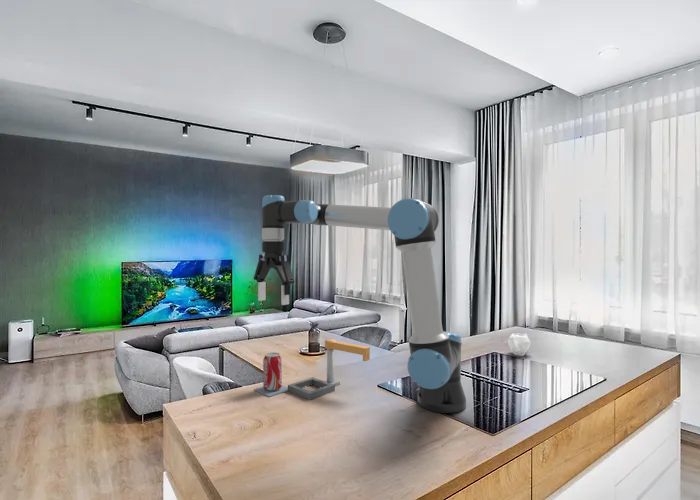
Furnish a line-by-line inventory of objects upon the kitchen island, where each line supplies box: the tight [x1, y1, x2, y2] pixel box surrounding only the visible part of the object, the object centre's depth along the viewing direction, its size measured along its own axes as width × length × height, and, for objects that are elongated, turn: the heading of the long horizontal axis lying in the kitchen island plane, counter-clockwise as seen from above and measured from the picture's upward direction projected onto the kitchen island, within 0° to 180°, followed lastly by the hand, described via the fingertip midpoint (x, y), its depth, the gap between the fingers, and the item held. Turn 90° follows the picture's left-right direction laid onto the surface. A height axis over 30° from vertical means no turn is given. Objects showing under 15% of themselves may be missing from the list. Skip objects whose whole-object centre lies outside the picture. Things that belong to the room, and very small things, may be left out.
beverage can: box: [262, 352, 283, 391], centre depth 141 cm, size 6×6×12 cm
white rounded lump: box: [507, 332, 531, 357], centre depth 189 cm, size 10×20×9 cm, turn 135°
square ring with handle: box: [287, 349, 341, 401], centre depth 143 cm, size 12×17×13 cm
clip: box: [324, 338, 371, 362], centre depth 143 cm, size 4×18×4 cm, turn 55°
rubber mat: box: [253, 384, 289, 398], centre depth 141 cm, size 9×9×1 cm
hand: (273, 302), depth 141 cm, fingers open, 13 cm apart
